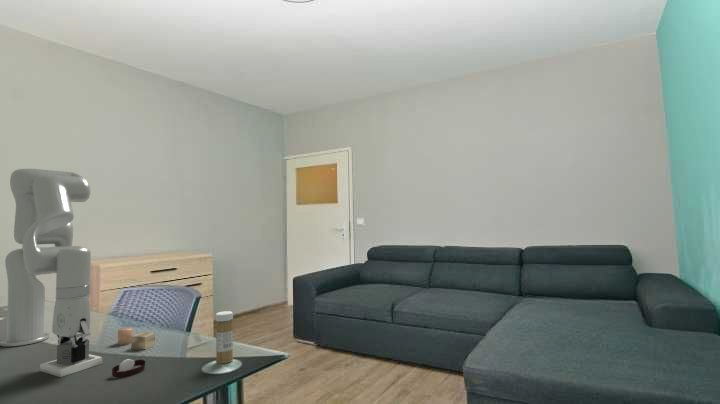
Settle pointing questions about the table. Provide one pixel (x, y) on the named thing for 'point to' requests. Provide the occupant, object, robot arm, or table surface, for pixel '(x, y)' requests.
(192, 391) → the table surface
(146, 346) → the oak block
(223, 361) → the sprinkles bottle
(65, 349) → the grey marked block
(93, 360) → the dish
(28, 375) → the table surface
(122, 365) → the watch
